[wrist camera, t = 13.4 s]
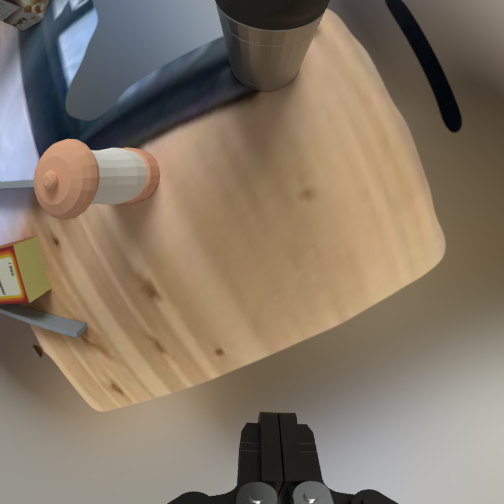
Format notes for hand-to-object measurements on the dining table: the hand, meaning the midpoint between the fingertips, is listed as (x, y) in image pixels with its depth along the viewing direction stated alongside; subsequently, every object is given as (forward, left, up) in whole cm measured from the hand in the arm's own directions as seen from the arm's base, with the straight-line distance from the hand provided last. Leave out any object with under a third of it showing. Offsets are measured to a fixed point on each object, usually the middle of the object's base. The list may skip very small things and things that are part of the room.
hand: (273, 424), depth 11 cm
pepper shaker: (-9, -18, -29) cm, 35 cm away
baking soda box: (+6, -36, -26) cm, 45 cm away
